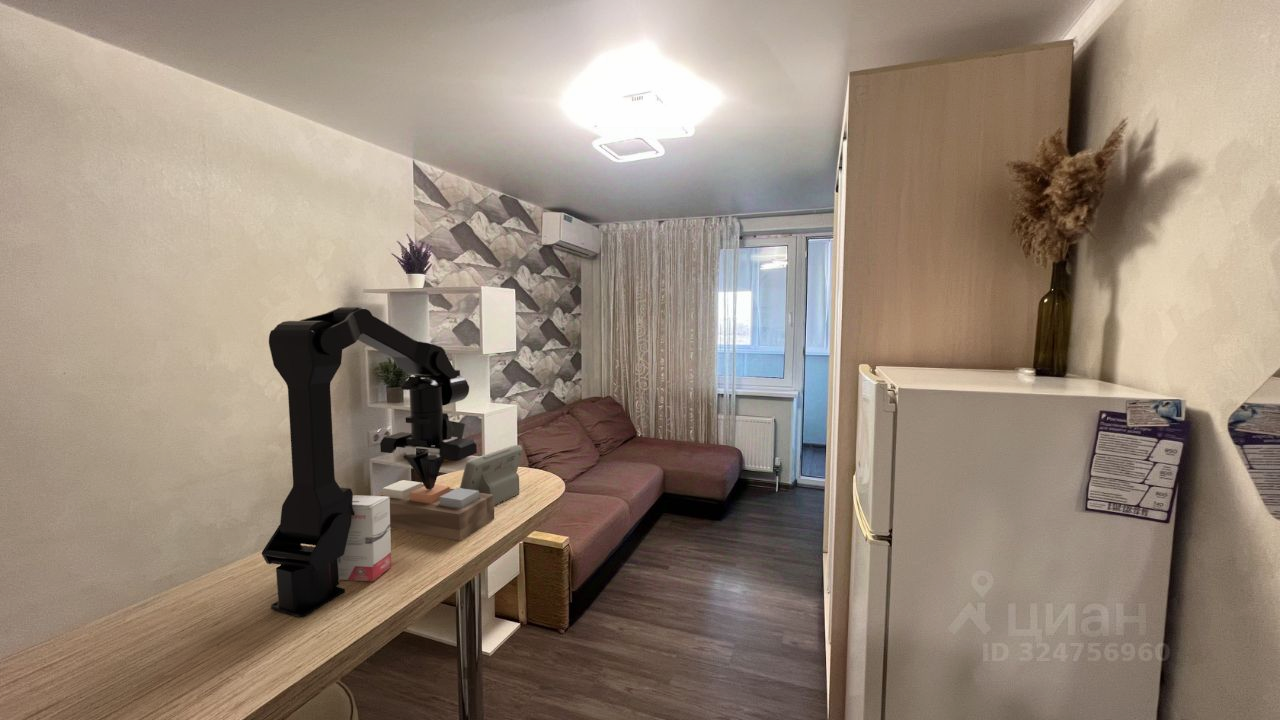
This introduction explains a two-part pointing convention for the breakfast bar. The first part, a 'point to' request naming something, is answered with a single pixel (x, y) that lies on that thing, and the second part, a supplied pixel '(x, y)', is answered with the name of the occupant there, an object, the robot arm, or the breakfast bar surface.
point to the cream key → (401, 489)
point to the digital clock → (494, 473)
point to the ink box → (367, 540)
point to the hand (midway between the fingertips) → (430, 488)
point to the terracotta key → (429, 494)
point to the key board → (441, 517)
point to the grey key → (459, 498)
